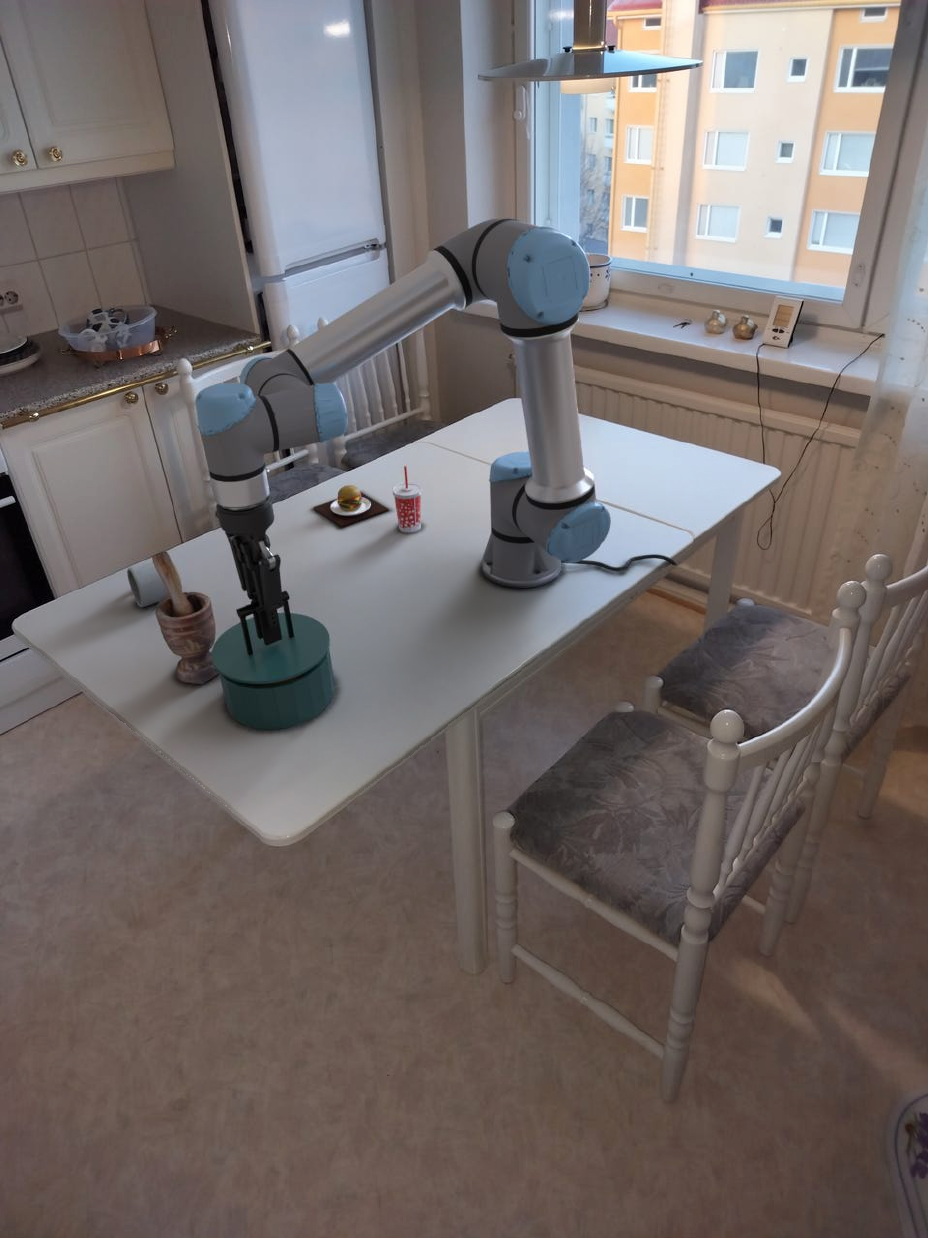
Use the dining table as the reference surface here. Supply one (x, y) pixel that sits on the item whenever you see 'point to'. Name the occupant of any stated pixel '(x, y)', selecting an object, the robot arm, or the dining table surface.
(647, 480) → the dining table surface
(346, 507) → the hamburger
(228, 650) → the lid
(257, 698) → the pot
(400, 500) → the beverage cup
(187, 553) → the dining table surface
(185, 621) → the mortar and pestle
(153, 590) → the ceramic mug
